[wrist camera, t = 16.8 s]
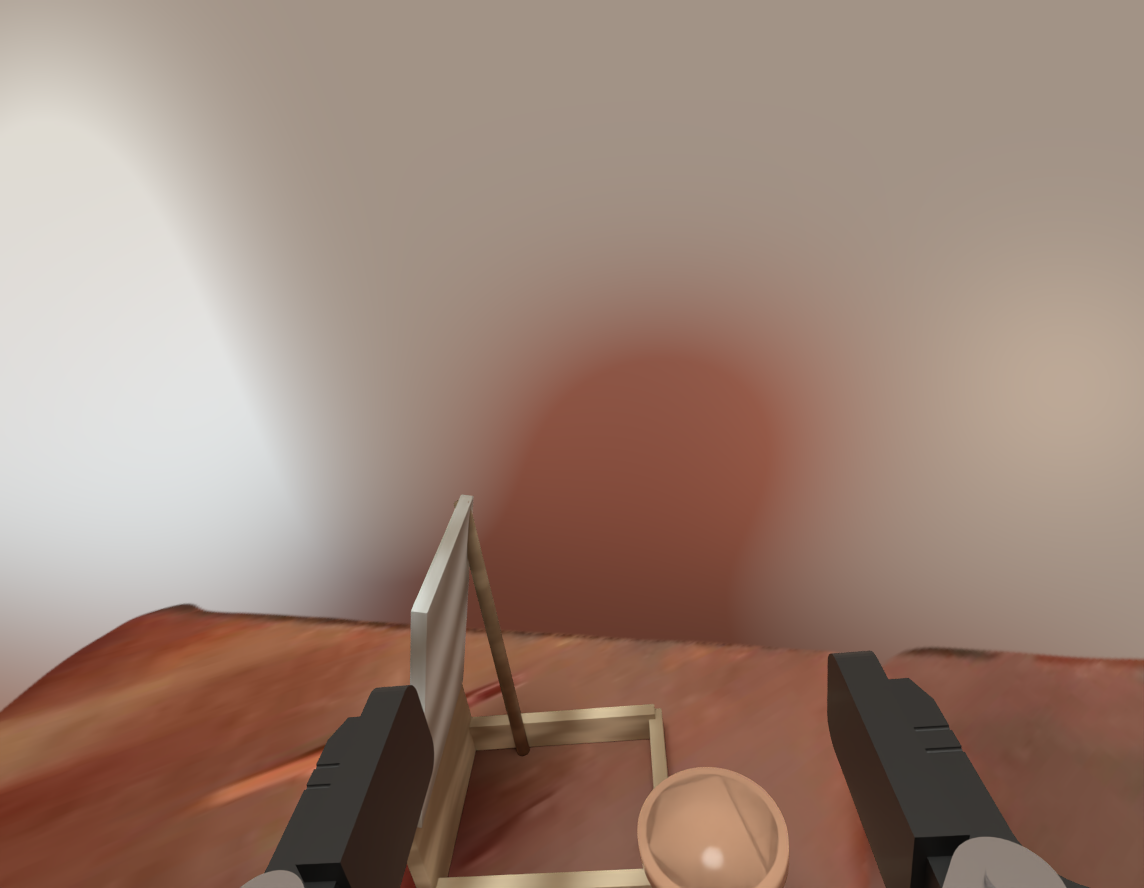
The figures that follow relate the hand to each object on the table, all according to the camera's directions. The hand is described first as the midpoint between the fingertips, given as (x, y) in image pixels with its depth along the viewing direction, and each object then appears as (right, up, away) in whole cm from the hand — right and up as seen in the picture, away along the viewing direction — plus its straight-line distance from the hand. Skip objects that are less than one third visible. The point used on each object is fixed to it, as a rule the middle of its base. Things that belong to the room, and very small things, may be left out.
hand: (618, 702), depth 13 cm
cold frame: (-2, -21, +34) cm, 40 cm away
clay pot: (+7, -24, +22) cm, 33 cm away
